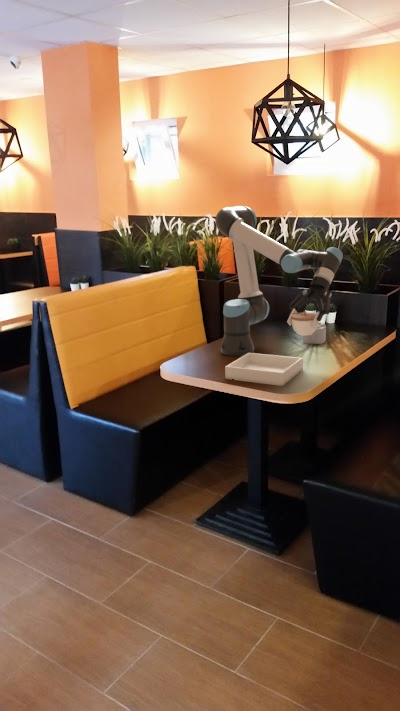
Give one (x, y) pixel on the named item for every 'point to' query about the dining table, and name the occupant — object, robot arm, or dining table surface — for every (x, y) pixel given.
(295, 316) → the lidded jar
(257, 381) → the cream square tray
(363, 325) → the dining table surface
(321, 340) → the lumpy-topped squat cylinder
